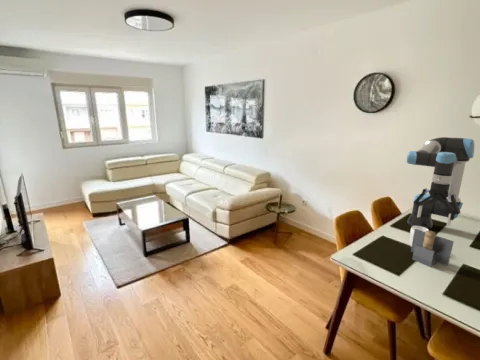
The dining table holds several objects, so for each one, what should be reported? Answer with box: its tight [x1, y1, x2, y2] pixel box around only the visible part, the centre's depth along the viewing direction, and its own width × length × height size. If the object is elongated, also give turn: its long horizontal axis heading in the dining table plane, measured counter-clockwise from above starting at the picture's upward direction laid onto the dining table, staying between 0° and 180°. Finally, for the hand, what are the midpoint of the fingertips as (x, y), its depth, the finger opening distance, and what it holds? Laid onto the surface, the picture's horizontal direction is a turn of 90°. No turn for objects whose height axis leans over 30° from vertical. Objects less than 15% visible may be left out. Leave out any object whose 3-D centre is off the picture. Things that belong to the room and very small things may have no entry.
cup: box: [409, 226, 430, 248], centre depth 158 cm, size 9×9×12 cm
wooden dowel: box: [423, 230, 437, 250], centre depth 142 cm, size 4×4×14 cm
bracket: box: [410, 229, 455, 268], centre depth 143 cm, size 10×18×14 cm, turn 34°
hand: (432, 221), depth 139 cm, fingers open, 13 cm apart
